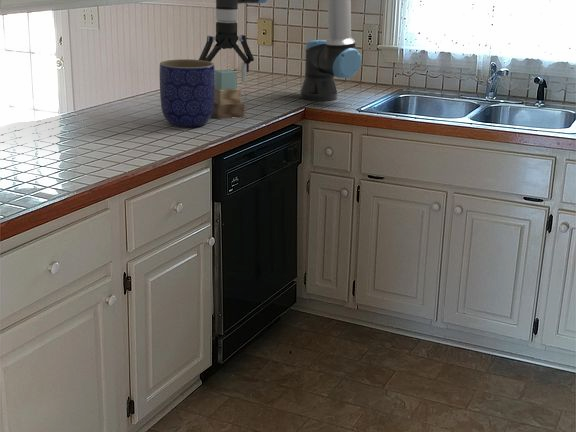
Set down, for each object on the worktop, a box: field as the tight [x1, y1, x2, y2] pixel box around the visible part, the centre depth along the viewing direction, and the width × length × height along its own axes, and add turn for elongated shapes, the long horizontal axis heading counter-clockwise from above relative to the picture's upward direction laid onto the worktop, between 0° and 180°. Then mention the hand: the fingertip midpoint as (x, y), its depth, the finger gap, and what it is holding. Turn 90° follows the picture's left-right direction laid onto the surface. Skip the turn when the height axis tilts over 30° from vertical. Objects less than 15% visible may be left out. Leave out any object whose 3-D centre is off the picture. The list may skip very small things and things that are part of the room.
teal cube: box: [215, 69, 238, 90], centre depth 290 cm, size 6×6×6 cm
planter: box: [159, 59, 216, 128], centre depth 275 cm, size 18×18×21 cm
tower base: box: [211, 102, 245, 120], centre depth 293 cm, size 10×10×5 cm
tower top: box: [214, 87, 242, 105], centre depth 291 cm, size 8×8×5 cm
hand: (226, 82), depth 290 cm, fingers open, 13 cm apart
